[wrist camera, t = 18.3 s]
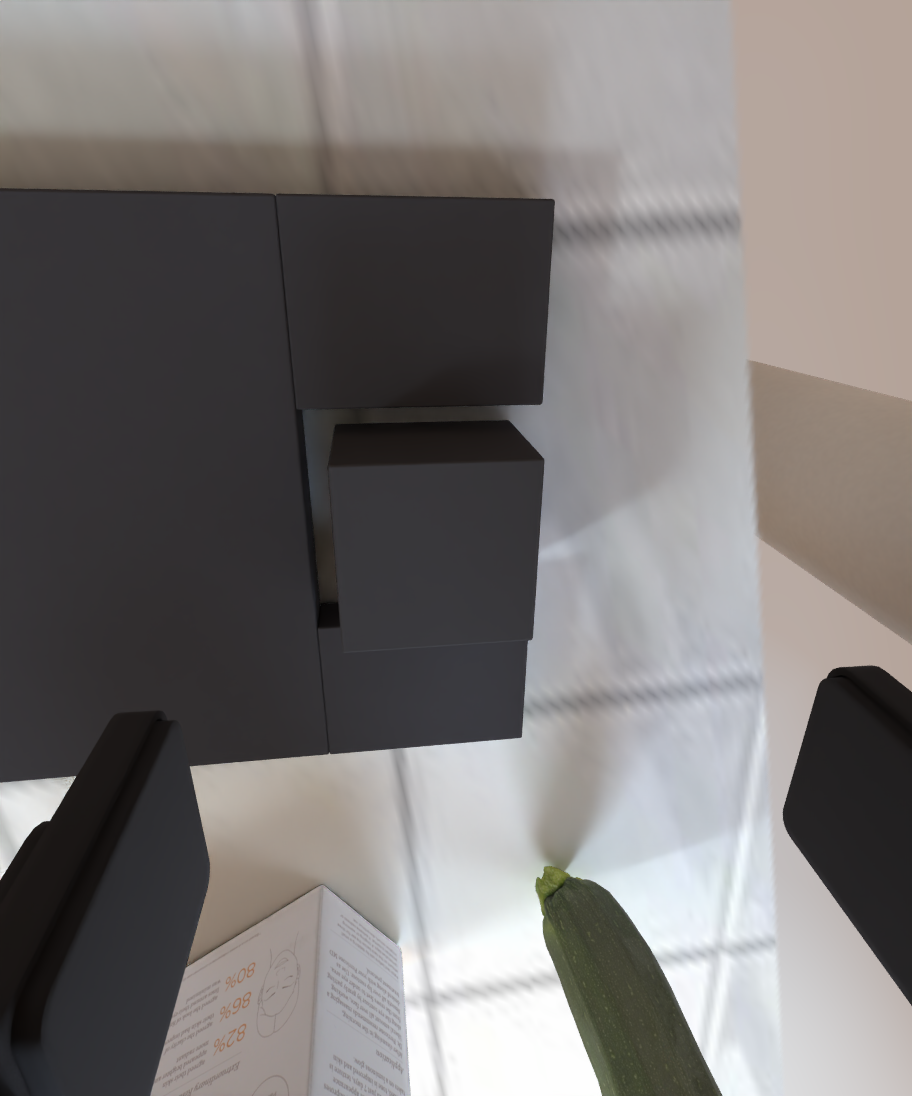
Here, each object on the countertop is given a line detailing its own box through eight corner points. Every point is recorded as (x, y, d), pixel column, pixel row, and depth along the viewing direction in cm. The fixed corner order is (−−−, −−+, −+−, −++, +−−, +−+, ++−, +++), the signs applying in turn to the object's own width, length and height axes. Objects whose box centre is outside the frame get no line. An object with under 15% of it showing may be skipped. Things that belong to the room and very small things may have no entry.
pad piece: (509, 419, 18) (545, 458, 15) (503, 574, 20) (533, 641, 17) (334, 423, 18) (327, 465, 14) (345, 582, 20) (342, 654, 16)
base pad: (539, 204, 16) (555, 199, 15) (512, 709, 23) (522, 738, 21) (-256, 189, 14) (-323, 181, 13) (-32, 753, 21) (-60, 788, 19)
